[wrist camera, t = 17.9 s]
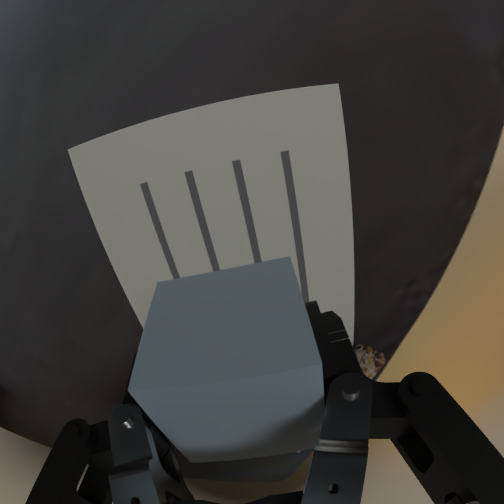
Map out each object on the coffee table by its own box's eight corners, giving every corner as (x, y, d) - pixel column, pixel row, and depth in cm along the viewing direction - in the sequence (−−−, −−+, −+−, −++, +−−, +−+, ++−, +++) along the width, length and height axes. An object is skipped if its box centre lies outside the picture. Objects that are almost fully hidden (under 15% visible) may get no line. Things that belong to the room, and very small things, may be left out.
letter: (172, 378, 23) (172, 379, 23) (68, 149, 14) (67, 149, 14) (352, 346, 22) (353, 347, 22) (337, 83, 13) (338, 83, 13)
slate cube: (197, 367, 14) (190, 462, 10) (157, 282, 12) (127, 390, 7) (303, 348, 14) (325, 445, 10) (289, 255, 11) (322, 363, 7)
